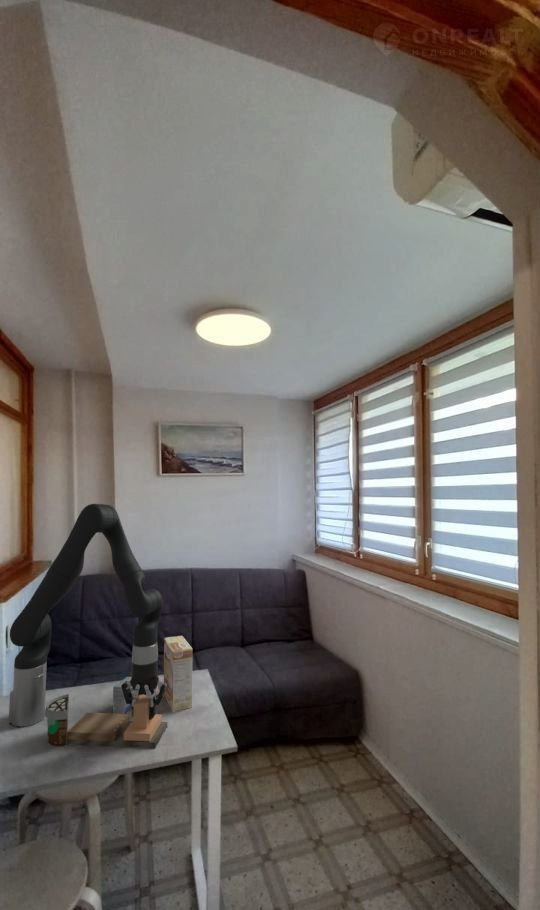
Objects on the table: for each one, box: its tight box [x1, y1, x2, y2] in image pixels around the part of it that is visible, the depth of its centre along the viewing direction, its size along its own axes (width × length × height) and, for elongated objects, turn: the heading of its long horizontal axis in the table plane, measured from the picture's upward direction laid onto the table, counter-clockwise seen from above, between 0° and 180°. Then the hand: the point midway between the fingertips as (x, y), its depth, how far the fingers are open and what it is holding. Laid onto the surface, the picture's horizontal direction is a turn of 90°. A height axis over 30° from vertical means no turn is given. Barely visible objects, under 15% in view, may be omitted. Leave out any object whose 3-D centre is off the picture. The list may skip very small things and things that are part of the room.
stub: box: [124, 695, 163, 741], centre depth 128 cm, size 8×11×9 cm
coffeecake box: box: [163, 635, 193, 713], centre depth 150 cm, size 15×7×20 cm, turn 25°
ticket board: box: [66, 712, 168, 749], centre depth 128 cm, size 26×11×4 cm, turn 86°
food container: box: [44, 693, 70, 747], centre depth 126 cm, size 12×6×10 cm, turn 23°
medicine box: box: [112, 676, 135, 714], centre depth 144 cm, size 8×4×9 cm, turn 168°
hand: (143, 717), depth 127 cm, fingers closed on stub, 4 cm apart
